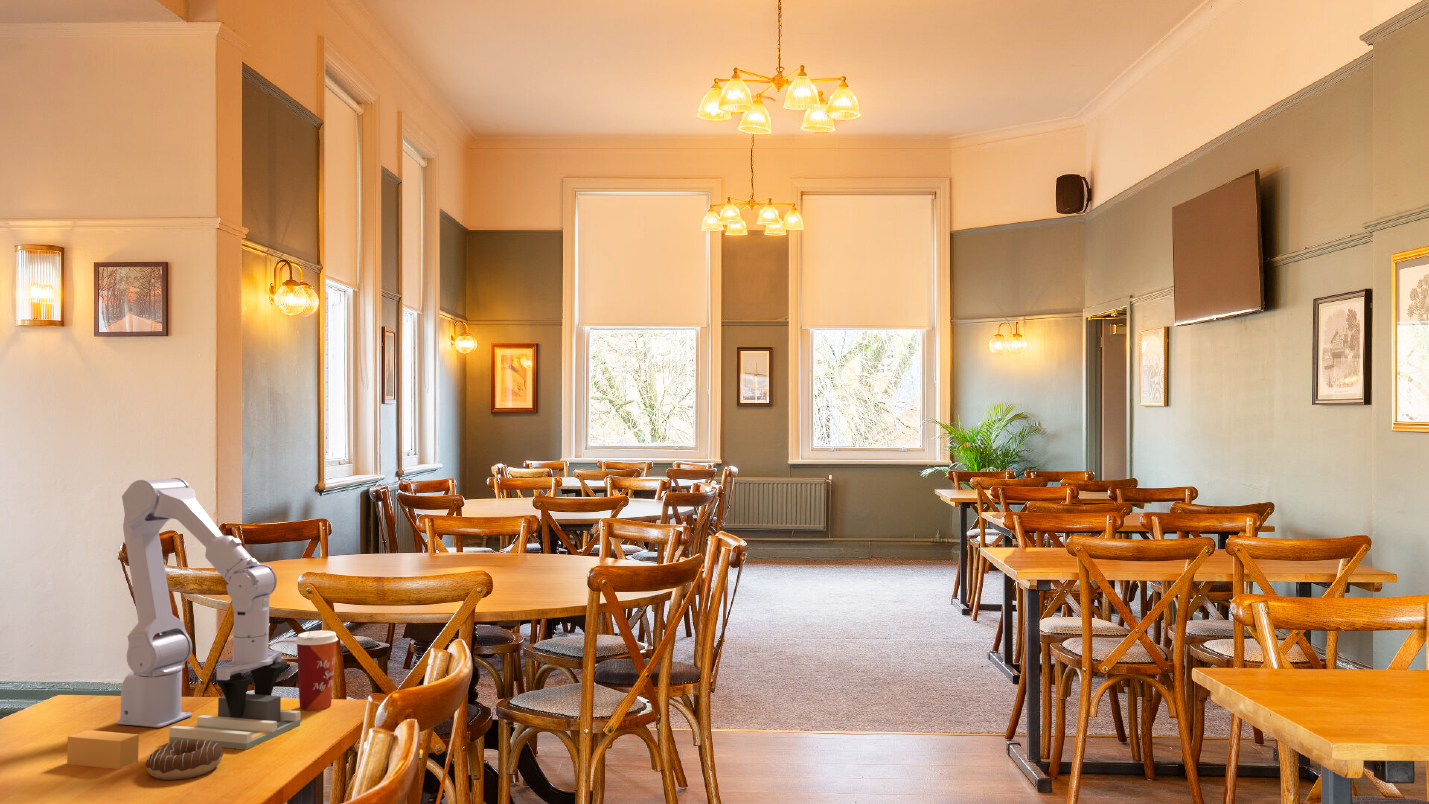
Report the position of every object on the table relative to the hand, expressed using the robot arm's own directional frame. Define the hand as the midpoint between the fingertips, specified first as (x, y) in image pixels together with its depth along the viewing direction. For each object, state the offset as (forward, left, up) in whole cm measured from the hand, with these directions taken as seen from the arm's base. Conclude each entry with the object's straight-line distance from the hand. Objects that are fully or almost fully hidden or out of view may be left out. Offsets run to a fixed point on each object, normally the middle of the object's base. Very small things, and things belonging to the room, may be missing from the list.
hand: (249, 711), depth 174 cm
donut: (+5, -21, -3) cm, 22 cm away
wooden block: (-10, -21, -3) cm, 24 cm away
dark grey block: (0, 0, -2) cm, 2 cm away
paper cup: (+3, +15, -3) cm, 15 cm away
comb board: (0, -3, -3) cm, 4 cm away
